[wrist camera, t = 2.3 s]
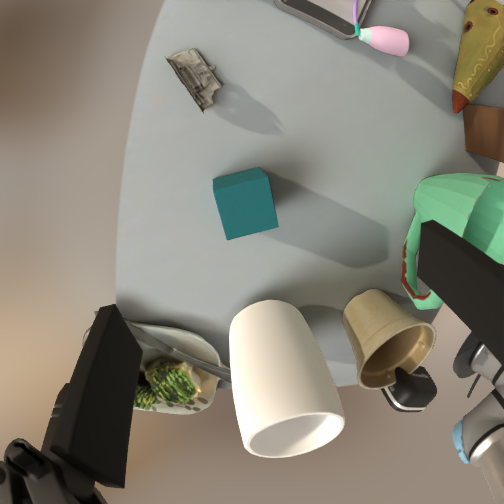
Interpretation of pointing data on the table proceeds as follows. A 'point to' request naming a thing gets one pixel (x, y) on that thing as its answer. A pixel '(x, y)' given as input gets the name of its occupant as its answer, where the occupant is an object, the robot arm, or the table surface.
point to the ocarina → (478, 51)
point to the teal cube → (245, 203)
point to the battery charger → (410, 390)
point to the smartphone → (328, 14)
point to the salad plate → (175, 369)
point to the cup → (281, 382)
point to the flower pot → (385, 338)
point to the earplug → (383, 37)
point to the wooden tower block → (484, 131)
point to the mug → (455, 221)
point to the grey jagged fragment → (195, 76)
